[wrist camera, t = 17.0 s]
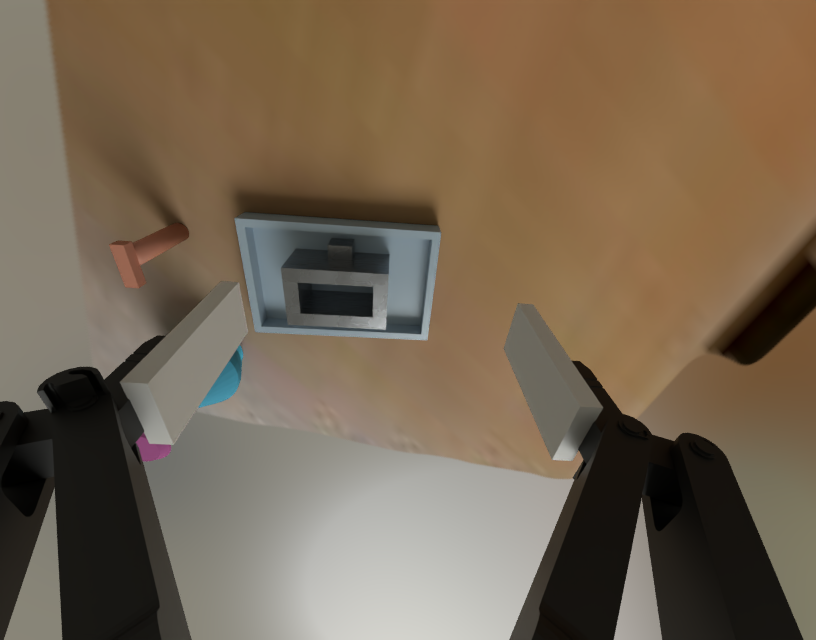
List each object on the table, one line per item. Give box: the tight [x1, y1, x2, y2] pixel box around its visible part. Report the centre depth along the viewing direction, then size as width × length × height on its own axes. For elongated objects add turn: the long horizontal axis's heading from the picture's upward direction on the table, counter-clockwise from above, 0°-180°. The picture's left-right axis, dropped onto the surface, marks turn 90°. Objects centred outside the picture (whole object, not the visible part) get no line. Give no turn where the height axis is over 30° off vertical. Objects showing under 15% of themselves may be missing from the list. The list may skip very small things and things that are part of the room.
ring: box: [281, 238, 390, 330], centre depth 35 cm, size 10×8×6 cm
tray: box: [235, 212, 441, 340], centre depth 37 cm, size 13×20×2 cm, turn 86°
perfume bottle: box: [136, 345, 243, 461], centre depth 37 cm, size 9×9×15 cm
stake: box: [109, 223, 189, 288], centre depth 32 cm, size 4×2×9 cm, turn 176°
